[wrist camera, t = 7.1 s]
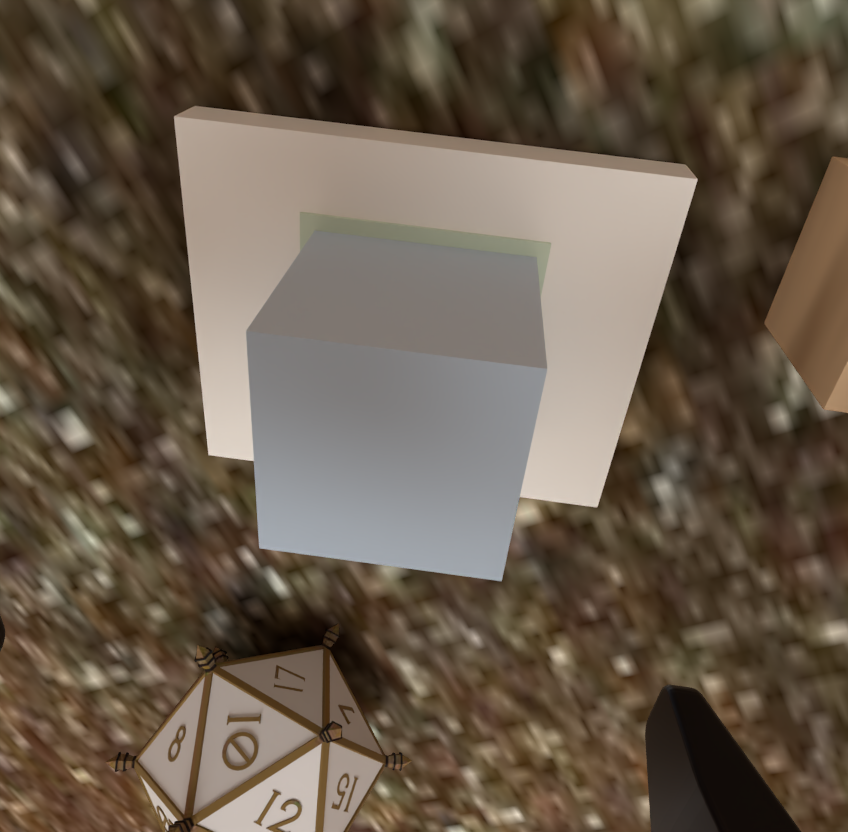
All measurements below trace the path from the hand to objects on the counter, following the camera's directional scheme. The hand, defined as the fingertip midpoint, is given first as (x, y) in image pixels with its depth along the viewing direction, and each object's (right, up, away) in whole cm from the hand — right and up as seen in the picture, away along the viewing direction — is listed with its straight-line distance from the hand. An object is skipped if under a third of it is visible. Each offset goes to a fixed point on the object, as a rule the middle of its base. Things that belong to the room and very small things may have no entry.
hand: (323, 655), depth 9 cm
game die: (-4, -6, +17) cm, 19 cm away
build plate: (+1, +6, +9) cm, 11 cm away
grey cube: (+1, +5, +8) cm, 9 cm away
